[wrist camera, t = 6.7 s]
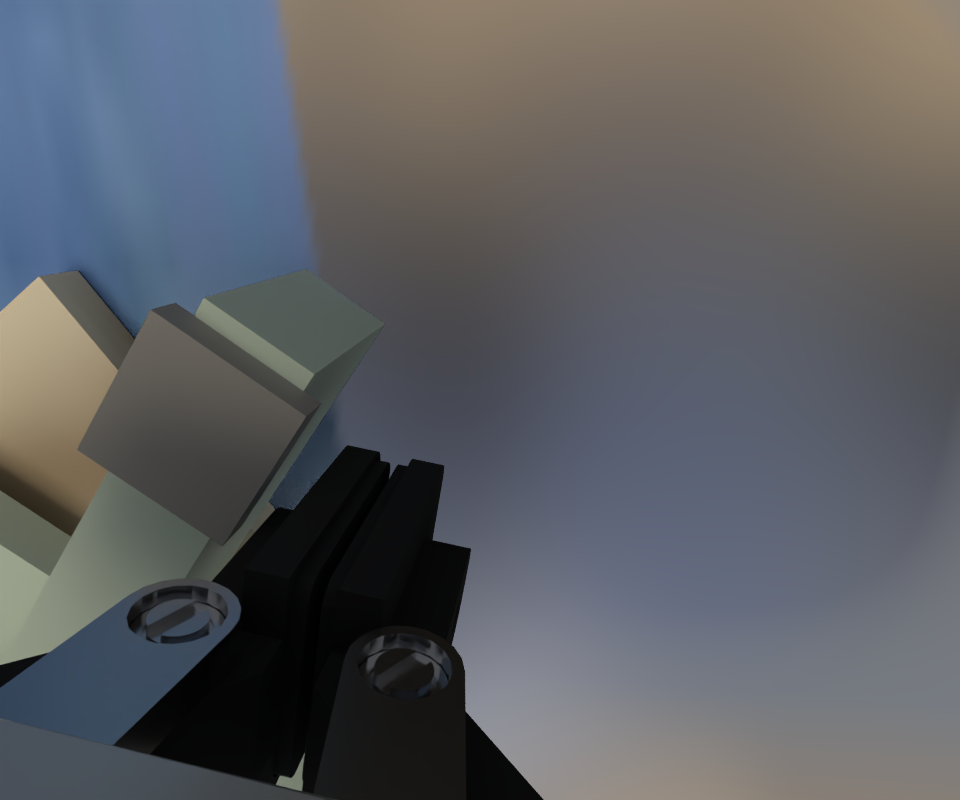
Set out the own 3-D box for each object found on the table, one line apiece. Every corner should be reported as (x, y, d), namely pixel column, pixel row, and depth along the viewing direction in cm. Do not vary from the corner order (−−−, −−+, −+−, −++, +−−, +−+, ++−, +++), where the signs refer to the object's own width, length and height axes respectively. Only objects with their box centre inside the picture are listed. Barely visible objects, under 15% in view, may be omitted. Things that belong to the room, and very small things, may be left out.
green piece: (639, 502, 14) (674, 644, 9) (159, 1053, 20) (47, 1290, 16) (31, 75, 13) (-245, 11, 8) (-270, 796, 19) (-515, 972, 15)
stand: (541, 831, 18) (539, 888, 17) (92, 1041, 23) (58, 1102, 21) (77, 270, 16) (24, 278, 14) (-331, 639, 20) (-405, 675, 19)
